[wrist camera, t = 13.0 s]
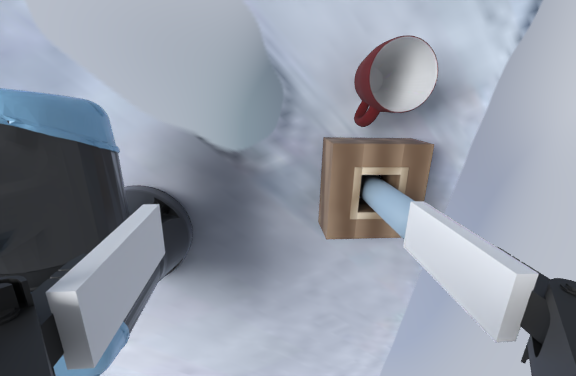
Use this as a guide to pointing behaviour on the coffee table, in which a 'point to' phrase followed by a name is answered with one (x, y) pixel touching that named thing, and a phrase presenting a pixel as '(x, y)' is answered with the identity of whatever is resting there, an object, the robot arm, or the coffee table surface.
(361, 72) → the mug
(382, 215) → the peg
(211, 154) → the coffee table surface
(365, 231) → the socket block
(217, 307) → the coffee table surface
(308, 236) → the coffee table surface
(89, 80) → the coffee table surface
